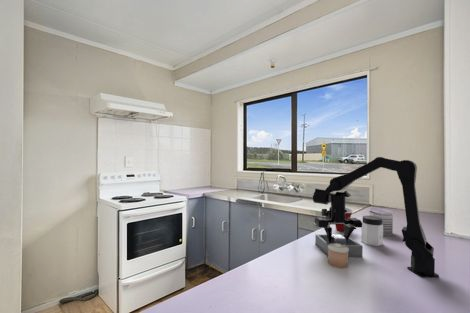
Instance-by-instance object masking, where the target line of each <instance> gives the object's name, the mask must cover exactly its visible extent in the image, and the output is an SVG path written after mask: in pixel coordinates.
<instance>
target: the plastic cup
mask: <svg viewBox="0 0 470 313" xmlns="http://www.w3.org/2000/svg"><path fill="white" fill-rule="evenodd" d="M345 209H346V210H347V212H345V219H346V220H347V218H352V214H353V213H354V210H353V209H351V208H348V207H345ZM334 225H335V229H336V231H339V232H343V233H344V226H343V224H334Z"/></svg>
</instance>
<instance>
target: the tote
mask: <svg viewBox="0 0 470 313" xmlns="http://www.w3.org/2000/svg"><path fill="white" fill-rule="evenodd" d="M341 235H342V236H343V237H344V234H341ZM314 236H315V243H314V244H315V245H316V247H317V248H319V250H321V251H322V252H323V253H324V254H325V255H326V256H327V257H328V245H329V240H328V237H327V234H326V233H324V234H321V233H320V234H318V233H317V234H315V235H314ZM345 246H347V247H348V248H349V251H348V258H363V253H364V252H363V245H362V244H360V243H359V242H358V241H356V240H354V239H352V237H349V238H348V240H347V242H346V245H345Z"/></svg>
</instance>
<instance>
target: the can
mask: <svg viewBox="0 0 470 313" xmlns="http://www.w3.org/2000/svg"><path fill="white" fill-rule="evenodd" d="M368 210H369V212H368V213H369V215H368V216H376V217H380V218H382V224H383V236H385V237H387V236H388V237H389V236H393V232H394V231H393V228H394V227H393V226H394V224H393V222H394V220H393V219H394V216H393V215H394V214H395V213H394V212H392V211H391V210H388V209H383V208H377V207H376V208H374V207H370V208H369V209H368Z"/></svg>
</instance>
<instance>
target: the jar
mask: <svg viewBox="0 0 470 313" xmlns="http://www.w3.org/2000/svg"><path fill="white" fill-rule="evenodd" d="M361 222H362V227H360V230H361V232H360V233H361V235H360V241H361V242H362V243H364V244H366V245H367V246H375V247H379V246H382V245H383V244H384V235H383V224H382V218H380V217H376V216H369V215H363V216H362V221H361Z"/></svg>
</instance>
